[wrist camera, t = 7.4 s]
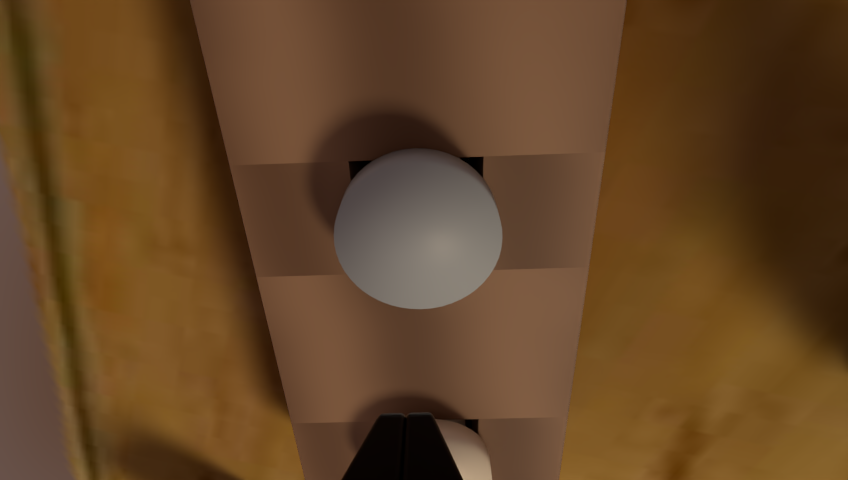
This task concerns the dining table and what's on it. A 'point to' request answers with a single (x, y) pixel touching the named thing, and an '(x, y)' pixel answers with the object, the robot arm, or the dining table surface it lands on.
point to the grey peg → (418, 229)
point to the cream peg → (466, 449)
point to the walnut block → (430, 129)
